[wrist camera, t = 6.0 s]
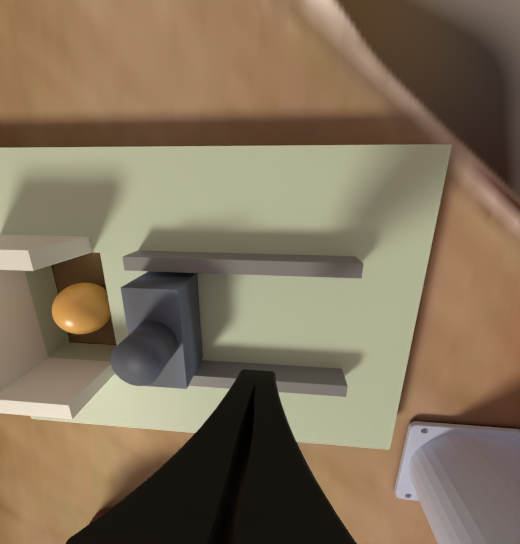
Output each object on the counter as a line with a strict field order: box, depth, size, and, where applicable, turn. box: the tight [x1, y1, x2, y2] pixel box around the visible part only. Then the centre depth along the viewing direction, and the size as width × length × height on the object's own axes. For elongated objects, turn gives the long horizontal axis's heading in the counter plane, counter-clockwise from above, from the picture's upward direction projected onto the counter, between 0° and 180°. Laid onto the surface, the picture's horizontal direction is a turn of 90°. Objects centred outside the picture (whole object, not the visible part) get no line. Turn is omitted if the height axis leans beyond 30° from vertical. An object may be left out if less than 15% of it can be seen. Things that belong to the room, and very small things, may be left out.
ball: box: [52, 283, 111, 334], centre depth 18 cm, size 4×4×4 cm
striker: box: [110, 271, 203, 389], centre depth 14 cm, size 3×6×5 cm, turn 0°
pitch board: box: [0, 144, 452, 450], centre depth 17 cm, size 28×20×4 cm
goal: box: [0, 234, 115, 419], centre depth 16 cm, size 6×10×4 cm, turn 0°
